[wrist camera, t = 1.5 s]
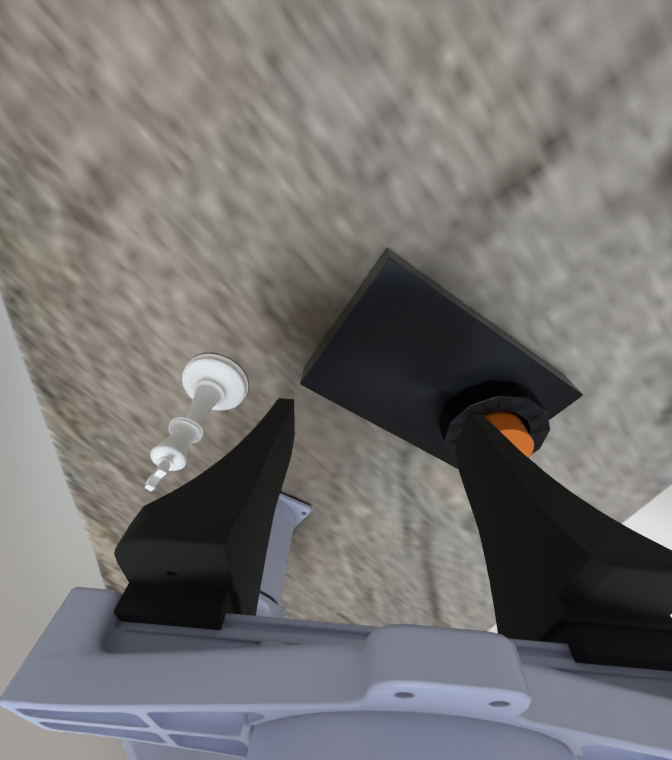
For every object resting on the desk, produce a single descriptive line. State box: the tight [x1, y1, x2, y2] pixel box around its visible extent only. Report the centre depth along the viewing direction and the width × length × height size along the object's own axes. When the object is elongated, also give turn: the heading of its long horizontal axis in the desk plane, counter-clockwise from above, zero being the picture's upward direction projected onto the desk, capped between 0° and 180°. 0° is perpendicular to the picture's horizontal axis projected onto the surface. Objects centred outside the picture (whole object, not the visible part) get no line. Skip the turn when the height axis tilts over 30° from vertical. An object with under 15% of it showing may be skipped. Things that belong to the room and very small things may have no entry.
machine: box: [300, 249, 583, 469], centre depth 22 cm, size 10×16×4 cm, turn 58°
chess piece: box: [144, 354, 248, 492], centre depth 21 cm, size 5×5×10 cm
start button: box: [484, 412, 534, 458], centre depth 22 cm, size 4×4×2 cm
